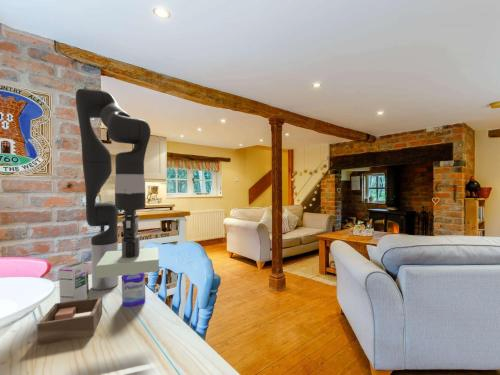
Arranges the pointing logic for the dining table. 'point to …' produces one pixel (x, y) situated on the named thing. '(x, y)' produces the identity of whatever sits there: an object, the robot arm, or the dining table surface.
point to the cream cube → (82, 314)
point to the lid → (128, 261)
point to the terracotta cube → (65, 313)
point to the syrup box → (74, 282)
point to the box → (70, 321)
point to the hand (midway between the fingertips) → (131, 254)
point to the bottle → (133, 289)
